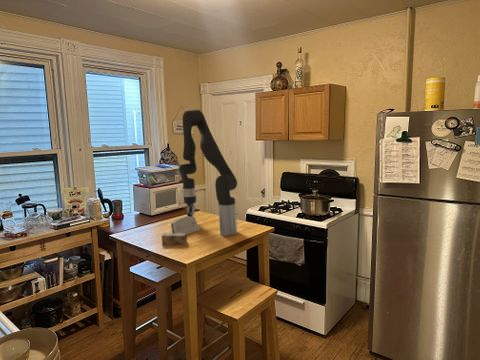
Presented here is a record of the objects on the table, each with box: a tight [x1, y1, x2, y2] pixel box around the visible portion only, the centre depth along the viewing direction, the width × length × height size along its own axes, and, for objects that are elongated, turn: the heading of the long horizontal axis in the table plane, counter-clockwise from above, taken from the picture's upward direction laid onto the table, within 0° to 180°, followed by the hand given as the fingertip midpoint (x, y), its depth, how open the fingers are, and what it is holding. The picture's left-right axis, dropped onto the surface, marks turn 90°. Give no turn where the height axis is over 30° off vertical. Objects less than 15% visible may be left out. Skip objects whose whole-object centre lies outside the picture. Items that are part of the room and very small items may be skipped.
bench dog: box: [161, 232, 188, 246], centre depth 168 cm, size 12×4×5 cm, turn 84°
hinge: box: [170, 216, 201, 235], centre depth 187 cm, size 17×5×10 cm, turn 135°
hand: (191, 222), depth 201 cm, fingers closed
